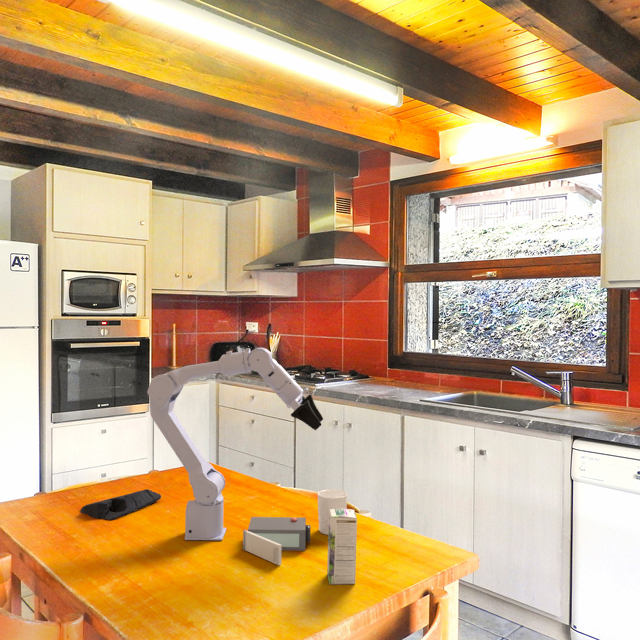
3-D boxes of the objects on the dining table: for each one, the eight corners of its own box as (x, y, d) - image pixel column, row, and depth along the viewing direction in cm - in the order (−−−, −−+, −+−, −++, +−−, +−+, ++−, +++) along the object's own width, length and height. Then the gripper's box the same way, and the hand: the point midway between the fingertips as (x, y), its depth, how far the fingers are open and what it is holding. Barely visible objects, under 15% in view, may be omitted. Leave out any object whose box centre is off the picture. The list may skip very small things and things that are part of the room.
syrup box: (326, 573, 133) (327, 508, 132) (353, 573, 133) (354, 508, 133) (328, 585, 127) (330, 517, 127) (356, 584, 127) (357, 516, 127)
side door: (240, 549, 145) (241, 530, 144) (245, 548, 146) (245, 529, 146) (276, 566, 136) (277, 545, 135) (281, 564, 137) (281, 544, 136)
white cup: (344, 537, 154) (344, 499, 154) (314, 535, 156) (314, 496, 156) (348, 527, 162) (349, 490, 162) (320, 524, 164) (320, 488, 163)
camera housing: (247, 550, 145) (247, 527, 145) (251, 536, 154) (251, 514, 154) (310, 550, 145) (310, 527, 145) (310, 536, 154) (310, 515, 154)
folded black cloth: (169, 504, 181) (169, 488, 181) (107, 524, 163) (107, 506, 163) (136, 494, 189) (136, 479, 189) (73, 513, 171) (73, 496, 171)
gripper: (291, 378, 146) (329, 419, 145) (298, 371, 160) (332, 409, 160) (270, 397, 146) (308, 438, 146) (278, 389, 161) (313, 426, 160)
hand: (319, 424), depth 153 cm, fingers open, 7 cm apart
